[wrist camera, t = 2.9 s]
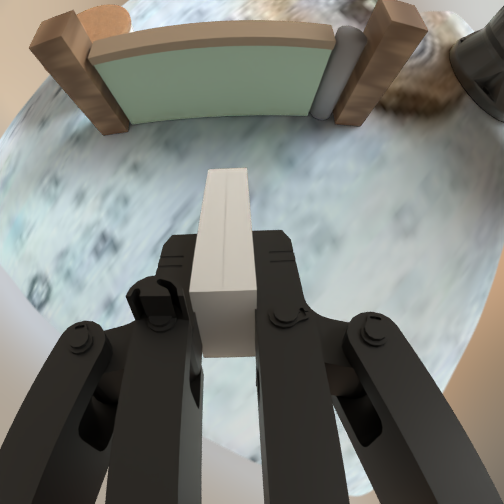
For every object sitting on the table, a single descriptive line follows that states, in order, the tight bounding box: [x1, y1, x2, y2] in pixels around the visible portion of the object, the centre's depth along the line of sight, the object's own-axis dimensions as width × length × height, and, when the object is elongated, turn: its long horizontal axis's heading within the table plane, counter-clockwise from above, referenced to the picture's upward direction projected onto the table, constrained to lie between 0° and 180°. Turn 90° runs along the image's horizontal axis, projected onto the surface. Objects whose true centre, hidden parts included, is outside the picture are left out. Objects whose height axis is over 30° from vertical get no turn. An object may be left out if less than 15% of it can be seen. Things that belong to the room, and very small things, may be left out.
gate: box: [88, 20, 367, 124], centre depth 24 cm, size 21×2×12 cm, turn 92°
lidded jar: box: [44, 5, 134, 73], centre depth 26 cm, size 11×11×9 cm
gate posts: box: [29, 0, 428, 136], centre depth 22 cm, size 28×3×16 cm, turn 92°
